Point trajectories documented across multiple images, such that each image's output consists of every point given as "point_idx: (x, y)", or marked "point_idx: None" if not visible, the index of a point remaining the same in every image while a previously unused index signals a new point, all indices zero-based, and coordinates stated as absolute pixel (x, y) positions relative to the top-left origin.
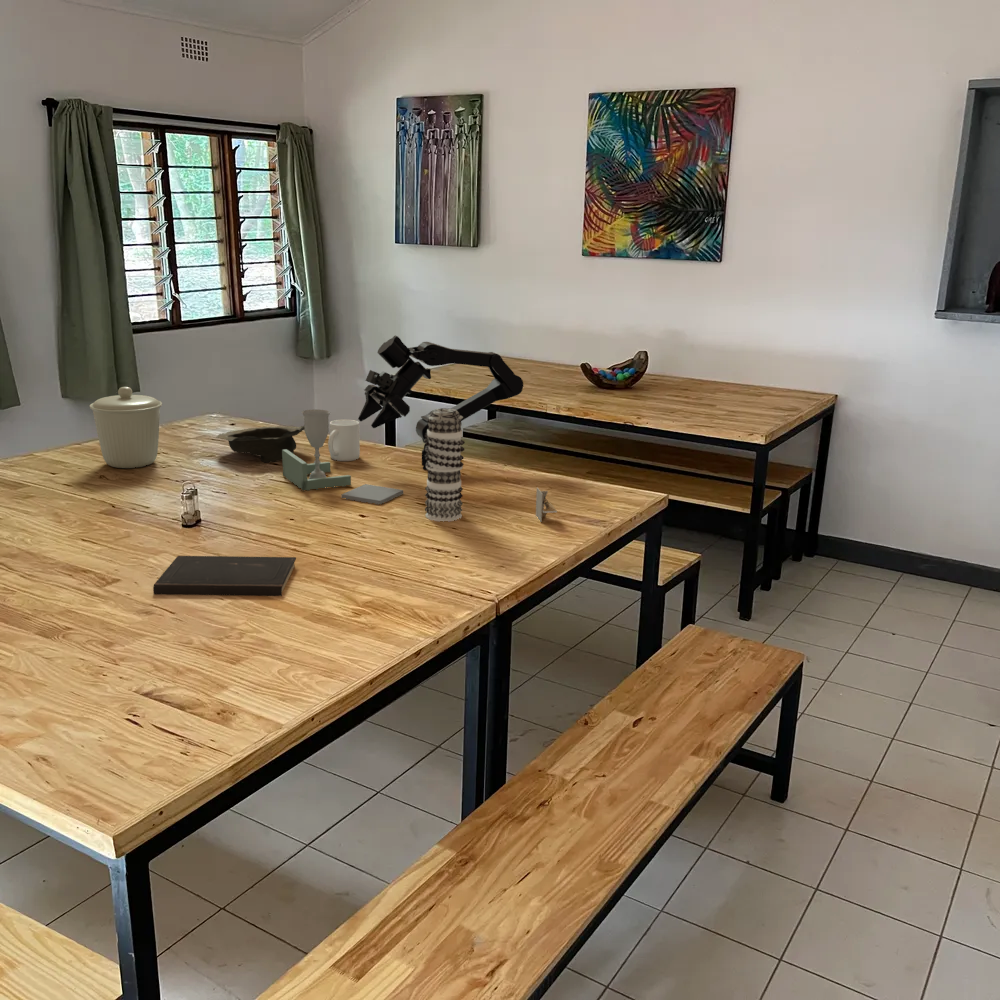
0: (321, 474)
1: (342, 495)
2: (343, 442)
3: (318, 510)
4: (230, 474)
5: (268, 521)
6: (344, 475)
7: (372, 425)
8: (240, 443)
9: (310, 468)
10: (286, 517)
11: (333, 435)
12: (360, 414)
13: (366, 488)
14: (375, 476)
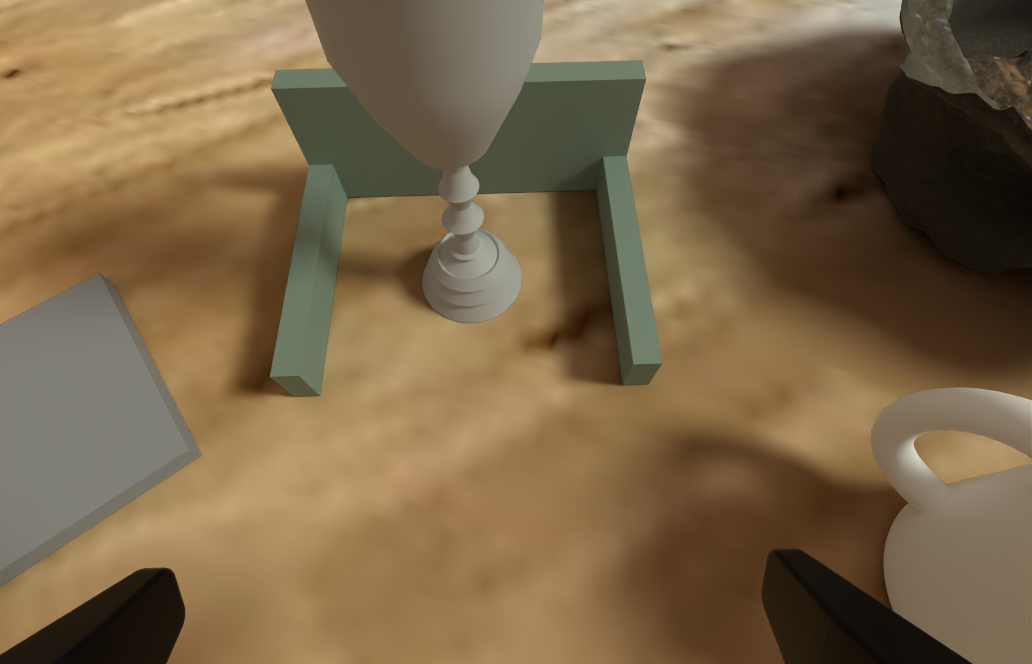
0: (433, 265)
1: (95, 278)
2: (985, 538)
3: (32, 162)
4: (692, 33)
5: (52, 21)
6: (302, 347)
7: (132, 585)
8: (960, 4)
9: (612, 265)
10: (46, 65)
11: (987, 418)
12: (858, 604)
13: (101, 421)
14: (413, 622)
